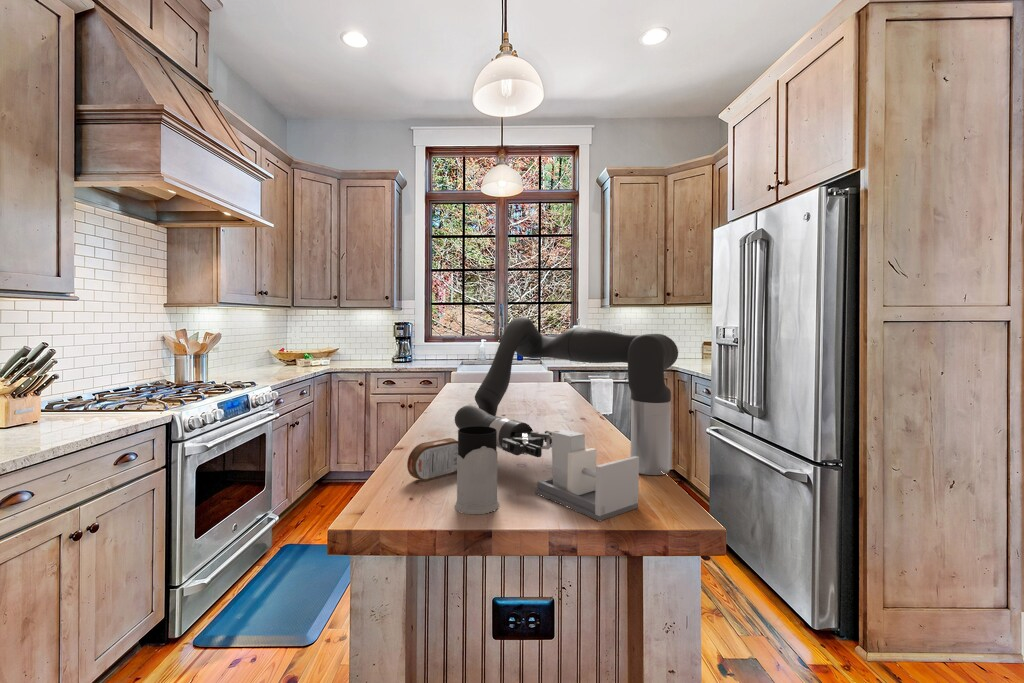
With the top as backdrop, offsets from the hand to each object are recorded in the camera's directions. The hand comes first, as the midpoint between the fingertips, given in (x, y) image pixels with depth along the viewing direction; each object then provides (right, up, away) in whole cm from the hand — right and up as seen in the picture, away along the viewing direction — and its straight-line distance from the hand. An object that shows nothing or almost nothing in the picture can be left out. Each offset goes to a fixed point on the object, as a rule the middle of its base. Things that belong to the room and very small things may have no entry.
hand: (555, 449), depth 107 cm
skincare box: (+2, -8, -3) cm, 9 cm away
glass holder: (-17, -9, -7) cm, 21 cm away
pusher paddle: (+6, -8, -8) cm, 13 cm away
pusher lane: (+5, -9, -7) cm, 12 cm away
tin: (-27, -8, +8) cm, 29 cm away
